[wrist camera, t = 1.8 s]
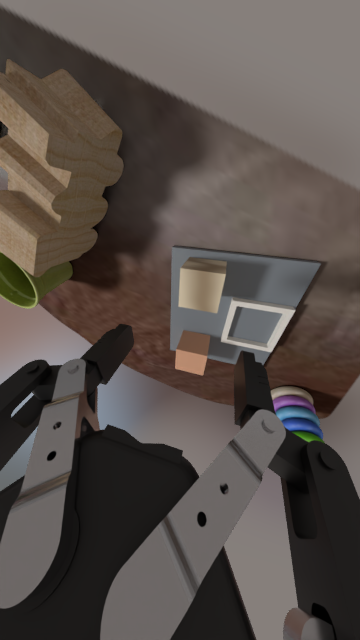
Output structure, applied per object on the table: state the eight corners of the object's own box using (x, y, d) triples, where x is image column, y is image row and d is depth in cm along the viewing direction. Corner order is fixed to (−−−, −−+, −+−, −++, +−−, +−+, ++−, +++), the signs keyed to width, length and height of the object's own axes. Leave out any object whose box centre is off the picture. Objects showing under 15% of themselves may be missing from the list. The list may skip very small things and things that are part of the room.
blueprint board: (171, 346, 34) (168, 352, 32) (174, 245, 22) (169, 248, 21) (259, 366, 31) (261, 374, 29) (317, 261, 19) (325, 266, 17)
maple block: (186, 290, 24) (178, 306, 21) (189, 257, 22) (180, 268, 18) (219, 295, 24) (217, 313, 20) (226, 261, 21) (225, 274, 17)
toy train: (135, 139, 17) (54, 81, 9) (89, 258, 27) (31, 279, 19) (91, 91, 16) (-47, -24, 8) (60, 233, 26) (-16, 245, 18)
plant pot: (30, 222, 26) (-42, 227, 19) (83, 252, 26) (32, 268, 20) (37, 270, 31) (-17, 288, 25) (80, 294, 32) (40, 318, 25)
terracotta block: (182, 348, 32) (175, 368, 28) (183, 330, 29) (176, 349, 25) (206, 354, 31) (202, 375, 27) (210, 335, 28) (207, 356, 24)
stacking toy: (314, 404, 33) (382, 563, 18) (272, 406, 37) (301, 538, 22) (306, 381, 30) (378, 548, 15) (261, 386, 34) (285, 523, 19)
